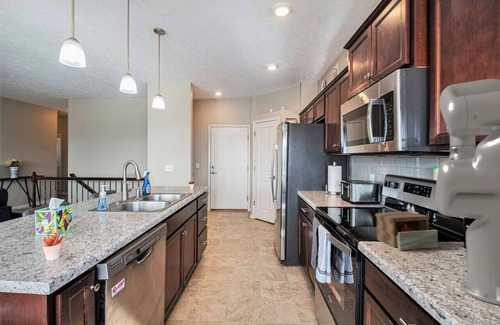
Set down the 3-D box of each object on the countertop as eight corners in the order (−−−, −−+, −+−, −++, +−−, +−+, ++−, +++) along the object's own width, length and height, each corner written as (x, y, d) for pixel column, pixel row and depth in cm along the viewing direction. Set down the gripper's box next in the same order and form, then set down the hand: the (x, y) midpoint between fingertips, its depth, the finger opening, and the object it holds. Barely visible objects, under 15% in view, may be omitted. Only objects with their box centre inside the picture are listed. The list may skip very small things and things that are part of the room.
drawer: (437, 247, 108) (437, 230, 108) (400, 249, 106) (399, 232, 106) (412, 237, 122) (411, 222, 123) (378, 239, 120) (378, 224, 120)
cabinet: (429, 245, 112) (428, 216, 112) (393, 247, 110) (392, 218, 110) (409, 237, 125) (408, 211, 125) (376, 239, 122) (375, 213, 122)
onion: (401, 238, 118) (400, 222, 118) (415, 241, 114) (414, 224, 114) (397, 241, 114) (396, 224, 114) (411, 243, 110) (410, 226, 110)
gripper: (455, 150, 90) (456, 198, 90) (489, 149, 92) (491, 197, 92) (437, 151, 97) (438, 196, 97) (469, 150, 99) (471, 194, 99)
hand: (464, 196), depth 94 cm, fingers closed
